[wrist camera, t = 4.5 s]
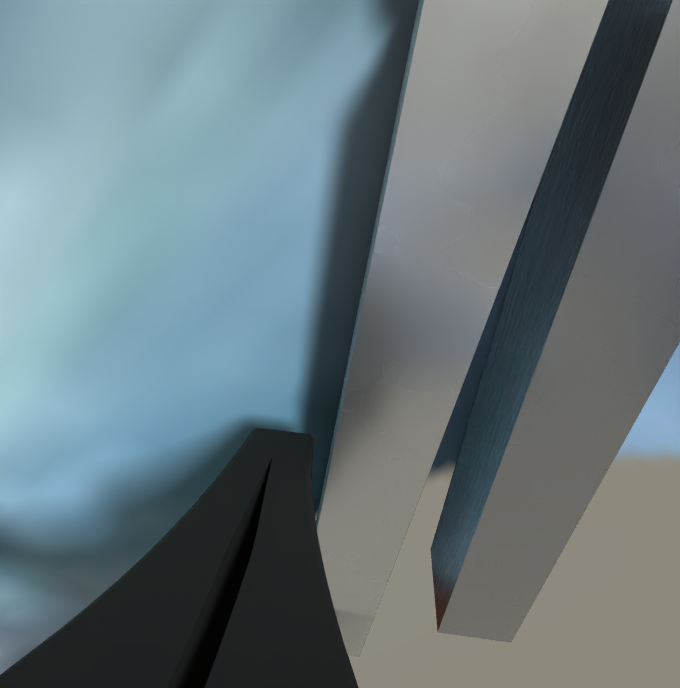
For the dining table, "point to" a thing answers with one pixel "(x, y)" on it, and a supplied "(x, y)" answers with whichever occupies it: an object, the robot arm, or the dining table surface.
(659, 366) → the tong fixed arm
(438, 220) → the tong jaw
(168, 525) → the dining table surface
